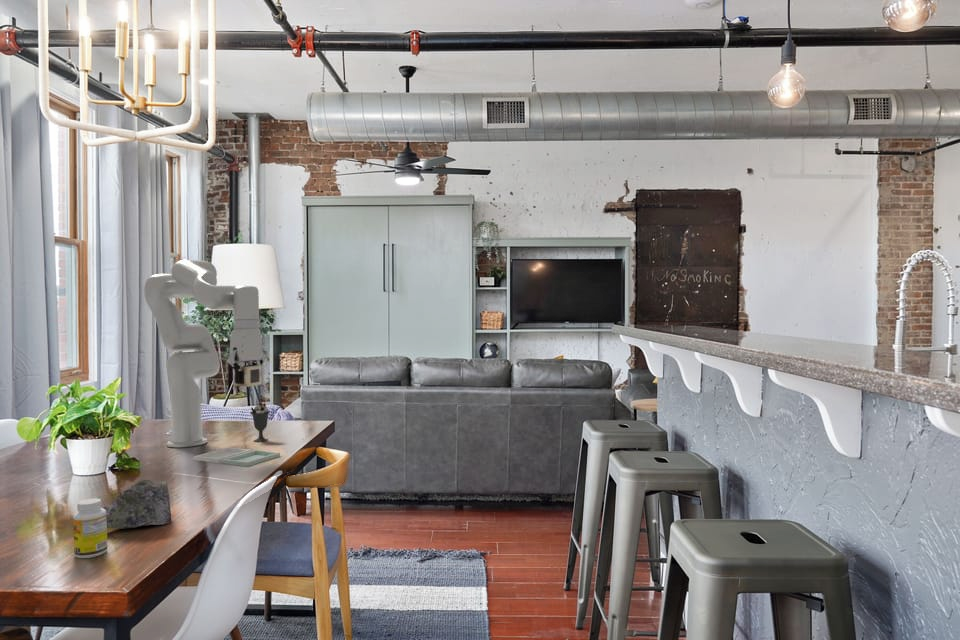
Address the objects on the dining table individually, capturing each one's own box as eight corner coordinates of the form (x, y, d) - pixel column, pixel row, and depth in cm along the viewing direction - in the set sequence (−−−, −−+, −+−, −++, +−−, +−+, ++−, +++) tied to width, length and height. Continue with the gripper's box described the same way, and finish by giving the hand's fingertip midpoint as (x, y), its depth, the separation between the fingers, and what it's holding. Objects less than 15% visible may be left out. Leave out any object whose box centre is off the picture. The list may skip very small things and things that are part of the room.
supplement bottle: (76, 551, 131) (74, 499, 131) (108, 547, 134) (107, 495, 133) (72, 561, 126) (70, 507, 126) (106, 556, 129) (104, 503, 128)
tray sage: (221, 464, 202) (221, 459, 202) (255, 454, 214) (255, 450, 214) (247, 467, 197) (246, 462, 197) (280, 457, 210) (280, 452, 210)
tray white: (193, 461, 207) (193, 456, 207) (228, 451, 219) (228, 447, 219) (217, 464, 202) (217, 459, 202) (251, 454, 215) (251, 449, 215)
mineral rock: (94, 534, 141) (93, 486, 141) (122, 518, 152) (121, 473, 152) (156, 533, 141) (155, 486, 141) (179, 517, 152) (178, 473, 152)
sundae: (274, 438, 240) (273, 396, 239) (266, 442, 233) (265, 399, 233) (256, 438, 241) (255, 396, 240) (247, 442, 234) (246, 399, 233)
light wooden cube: (233, 385, 212) (233, 366, 212) (247, 383, 217) (247, 364, 217) (248, 386, 209) (247, 366, 209) (262, 384, 215) (261, 365, 215)
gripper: (257, 324, 222) (258, 379, 223) (216, 326, 207) (217, 385, 207) (275, 324, 219) (275, 380, 220) (234, 326, 203) (235, 386, 204)
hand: (247, 381), depth 213 cm, fingers closed on light wooden cube, 5 cm apart
